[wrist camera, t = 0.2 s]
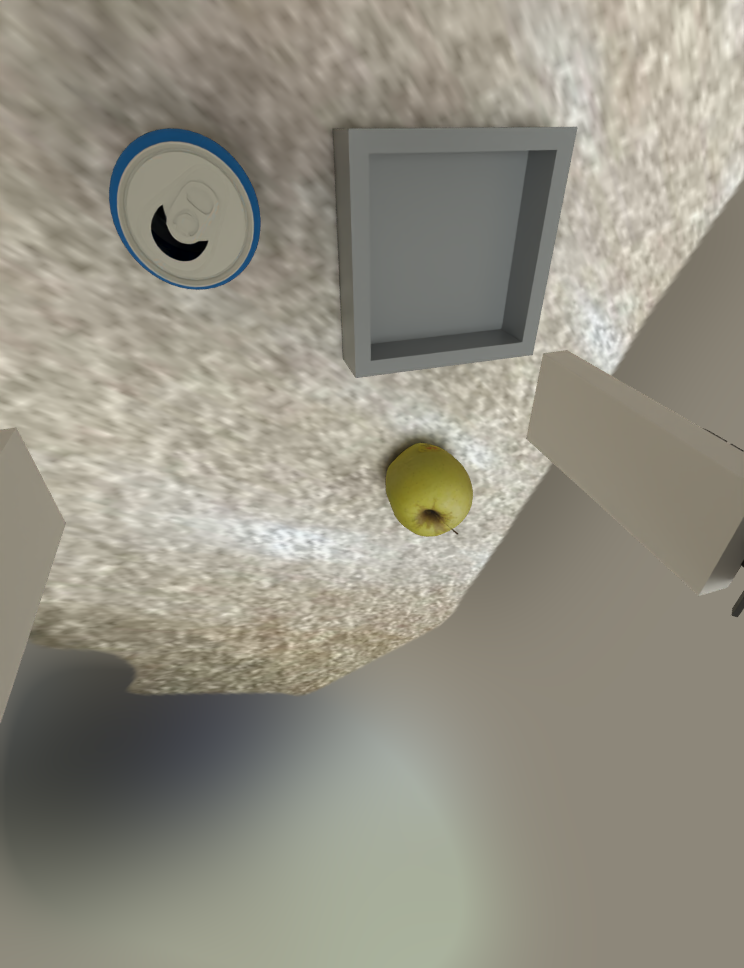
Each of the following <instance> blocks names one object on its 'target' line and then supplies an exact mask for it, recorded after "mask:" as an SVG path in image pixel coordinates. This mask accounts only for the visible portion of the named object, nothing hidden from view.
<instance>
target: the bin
mask: <svg viewBox="0 0 744 968" xmlns="http://www.w3.org/2000/svg"><path fill="white" fill-rule="evenodd" d="M576 132H577V127H492V128H362V129H333V146H334V169H335V191H336V214H337V236H338V259H339V281H340V304H341V326H342V349H343V360H344V361H345V363H346V364H347V366H348V367H349V369H350V370H351V372H352V373H353V375H354V376H355V378H359V377H367V376H374V375H382V374H390V373H397V372H405V371H413V370H421V369H428V368H436V367H444V366H451V365H459V364H467V363H474V362H482V361H490V360H497V359H505V358H513V357H521V356H528V355H533V350H534V345H535V340H536V335H537V330H538V325H539V320H540V315H541V310H542V305H543V300H544V294H545V289H546V284H547V279H548V274H549V269H550V264H551V259H552V254H553V249H554V244H555V239H556V233H557V228H558V223H559V218H560V213H561V208H562V203H563V198H564V193H565V188H566V183H567V178H568V172H569V167H570V162H571V157H572V152H573V147H574V142H575V137H576Z"/></svg>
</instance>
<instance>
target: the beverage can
mask: <svg viewBox="0 0 744 968" xmlns="http://www.w3.org/2000/svg"><path fill="white" fill-rule="evenodd" d="M109 202H110V209H111V214H112V218H113V222H114V225H115V227H116V230H117V232H118V234H119V236H120V238H121V240H122V242H123V244H124V245H125V247H126V248H127V250H128V251H129V253H130V254H131V255H132V256H133V257H134V259H135V260H136V261H137V262H138V263H139V264H140V265H141V266H142V267H143V268H145V269H146V270H147V271H148V272H150V273H151V274H152V275H154V276H156V277H157V278H159V279H161V280H163V281H165V282H167V283H169V284H172V285H175V286H178V287H181V288H186V289H196V290H200V289H210V288H215V287H218V286H221V285H224V284H226V283H227V282H229V281H231V280H233V279H234V278H235V277H237V276H238V275H239V274H240V273H241V272H242V271H243V270H244V269H245V268H246V267H247V265H248V264H249V262H250V261H251V259H252V257H253V255H254V253H255V251H256V248H257V245H258V241H259V236H260V222H261V219H260V210H259V205H258V200H257V197H256V194H255V191H254V188H253V186H252V184H251V182H250V180H249V178H248V176H247V175H246V173H245V172H244V170H243V169H242V167H241V166H240V165H239V163H238V162H237V161H236V160H235V159H234V158H233V157H232V155H231V154H230V153H229V152H227V151H226V150H225V149H224V148H223V147H221V146H220V145H219V144H217V143H216V142H214V141H213V140H211V139H209V138H207V137H205V136H203V135H201V134H198V133H195V132H192V131H189V130H183V129H171V128H167V129H160V130H155V131H152V132H149V133H146V134H144V135H142V136H140V137H138V138H137V139H136V140H134V141H133V142H132V143H130V144H129V146H128V147H127V148H126V149H125V150H124V151H123V152H122V154H121V155H120V157H119V158H118V160H117V162H116V164H115V167H114V169H113V172H112V176H111V180H110V188H109Z"/></svg>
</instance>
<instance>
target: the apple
mask: <svg viewBox="0 0 744 968" xmlns="http://www.w3.org/2000/svg"><path fill="white" fill-rule="evenodd" d="M385 483H386V493H387V497H388V499H389V502H390V504H391V507H392V510H393V512H394V515H395V517H396V518H397V519H398V521H399V522H400V523H401V524H402V525H403V526H404V527H406V528H407V529H409V530H410V531H412V532H413V533H415V534H417V535H420V536H426V537H428V536H437V535H441V534H443V533H445V532H447V531H450V530H453V528H455V527H456V526H457V525H459V524H460V523H461V522H462V521H463V519H464V518H465V517H466V516H467V514H468V512H469V510H470V508H471V505H472V499H473V490H472V484H471V481H470V478H469V475H468V474H467V472H466V470H465V469H464V467H463V466H462V465H461V463H460V462H459V461H458V460H457V459H455V458H454V457H453V456H452V455H451V454H449V453H448V452H447V451H445V450H444V449H442V448H440V447H437V446H434V445H431V444H427V443H417V444H414V445H412V446H411V447H409V448H407V449H406V450H405V451H403V452H402V453H401V454H400V455H399V456H398V457H397V458H396V459H395V460H394V461H393V462H392V463H391V464H390V466H389V467H388V470H387V474H386V482H385ZM453 531H454V530H453ZM454 532H455V533H456V534H458V533H457V532H456V531H454Z"/></svg>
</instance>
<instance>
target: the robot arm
mask: <svg viewBox="0 0 744 968" xmlns="http://www.w3.org/2000/svg"><path fill="white" fill-rule="evenodd" d="M526 439H527V440H528V441H529V442H531V443H532V444H533V445H534V446H535V447H536V448H537V449H538V450H539V451H540V452H542V453H543V454H544V455H545V456H546V457H547V458H548V459H549V460H550V461H551V462H552V463H554V464H555V465H556V466H557V467H558V468H559V469H560V470H561V471H562V472H563V473H565V474H566V475H567V476H568V477H569V478H570V479H571V480H572V481H573V482H574V483H576V484H577V485H578V486H579V487H580V488H581V489H582V490H583V491H584V492H586V494H588V495H589V496H590V497H591V498H592V499H593V500H594V501H595V502H596V503H597V504H599V505H600V506H601V507H602V508H603V509H604V510H605V511H606V512H607V513H609V515H611V516H612V517H613V518H614V519H615V520H616V521H617V522H618V523H619V524H620V525H622V526H623V527H624V528H625V529H626V530H627V531H628V532H629V533H630V534H631V535H632V536H634V537H635V538H636V539H637V540H638V541H639V542H640V543H641V544H642V545H643V546H645V547H646V548H647V549H648V550H649V551H650V552H651V553H652V554H653V555H654V556H656V557H657V558H658V559H659V560H660V561H661V562H662V563H663V564H664V565H665V566H666V567H668V568H669V569H670V570H671V571H672V572H673V573H674V574H675V575H676V576H677V577H679V578H680V579H681V580H682V581H683V582H684V583H685V584H686V585H687V586H688V587H689V588H691V589H692V590H693V591H694V592H695V593H696V594H697V595H698V596H700V595H703V594H706V593H710V592H713V591H717V590H720V589H724V588H727V587H728V586H729V585H730V583H731V582H732V580H733V578H734V577H735V575H736V573H737V572H738V570H739V569H740V567H741V565H742V566H743V567H744V452H743V450H741V449H740V448H738V447H736V446H734V445H733V444H729V443H727V441H726V440H724V439H722V438H721V437H719V436H717V435H715V434H714V433H712V432H710V431H708V430H706V429H703V428H701V427H699V426H697V425H696V424H694V423H692V422H691V421H689V420H687V419H685V418H684V417H682V416H680V415H678V414H677V413H675V412H673V411H672V410H670V409H668V408H666V407H665V406H663V405H661V404H659V403H658V402H656V401H654V400H652V399H651V398H649V397H647V396H645V395H644V394H642V393H640V392H638V391H637V390H635V389H633V388H632V387H630V386H628V385H626V384H625V383H623V382H621V381H620V380H618V379H616V378H614V377H613V376H611V375H609V374H607V373H606V372H604V371H602V370H600V369H599V368H597V367H595V366H594V365H592V364H590V363H588V362H587V361H585V360H583V359H581V358H580V357H578V356H576V355H574V354H573V353H571V352H569V351H568V350H565V351H558V352H551V353H544V354H543V357H542V362H541V367H540V372H539V377H538V382H537V387H536V392H535V397H534V402H533V407H532V412H531V417H530V422H529V428H528V433H527V438H526ZM65 524H66V522H65V520H64V519H63V517H62V515H61V513H60V511H59V509H58V507H57V505H56V503H55V501H54V499H53V497H52V495H51V493H50V492H49V490H48V488H47V486H46V484H45V482H44V480H43V478H42V476H41V474H40V472H39V470H38V468H37V466H36V464H35V463H34V461H33V459H32V457H31V455H30V453H29V451H28V449H27V447H26V445H25V443H24V441H23V439H22V437H21V435H20V434H19V432H18V430H17V428H10V429H3V430H0V723H1V720H2V717H3V714H4V711H5V708H6V704H7V702H8V698H9V695H10V692H11V689H12V686H13V683H14V680H15V677H16V674H17V671H18V668H19V665H20V662H21V659H22V656H23V653H24V650H25V647H26V643H27V640H28V637H29V634H30V631H31V628H32V625H33V622H34V619H35V616H36V613H37V610H38V607H39V604H40V601H41V598H42V595H43V591H44V588H45V585H46V582H47V579H48V576H49V573H50V570H51V567H52V564H53V561H54V558H55V555H56V552H57V549H58V546H59V543H60V540H61V536H62V533H63V530H64V527H65ZM743 609H744V591H743V593H742V594H741V596H740V597H739V599H738V601H737V602H736V604H735V605H734V607H733V608H732V616H735V617H738V616H739V615H740V613H741V612H742V610H743Z"/></svg>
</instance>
